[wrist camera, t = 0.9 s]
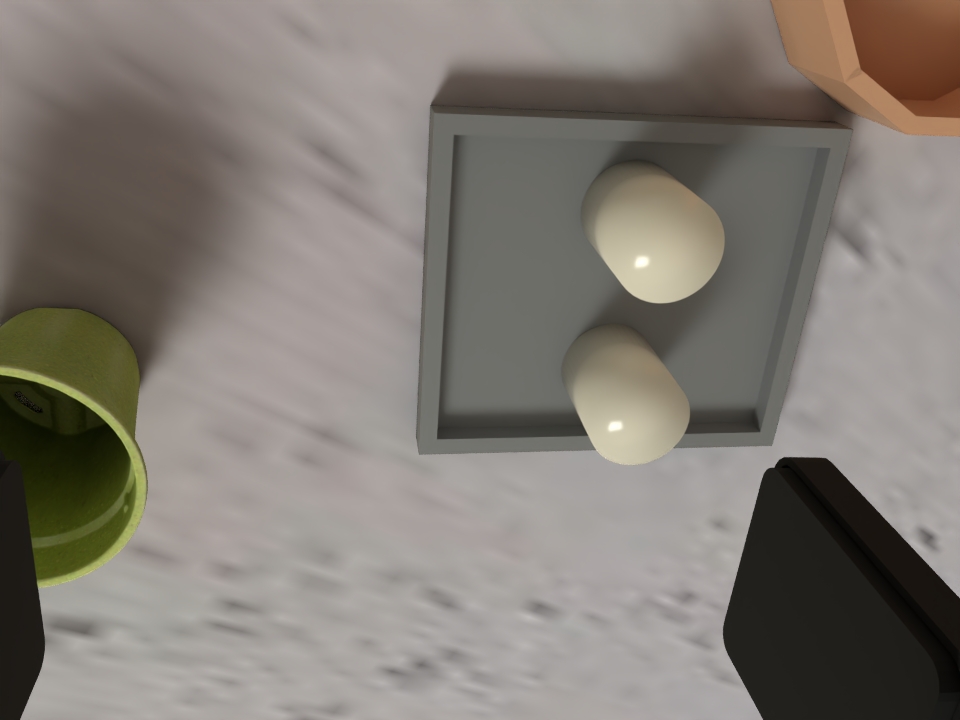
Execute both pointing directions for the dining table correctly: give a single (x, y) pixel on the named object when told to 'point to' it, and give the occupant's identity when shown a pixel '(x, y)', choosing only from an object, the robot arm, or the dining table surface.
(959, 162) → the dining table surface
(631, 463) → the pebble
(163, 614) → the dining table surface
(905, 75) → the bowl
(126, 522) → the plant pot
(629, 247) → the pebble
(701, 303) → the parts tray
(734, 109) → the dining table surface
